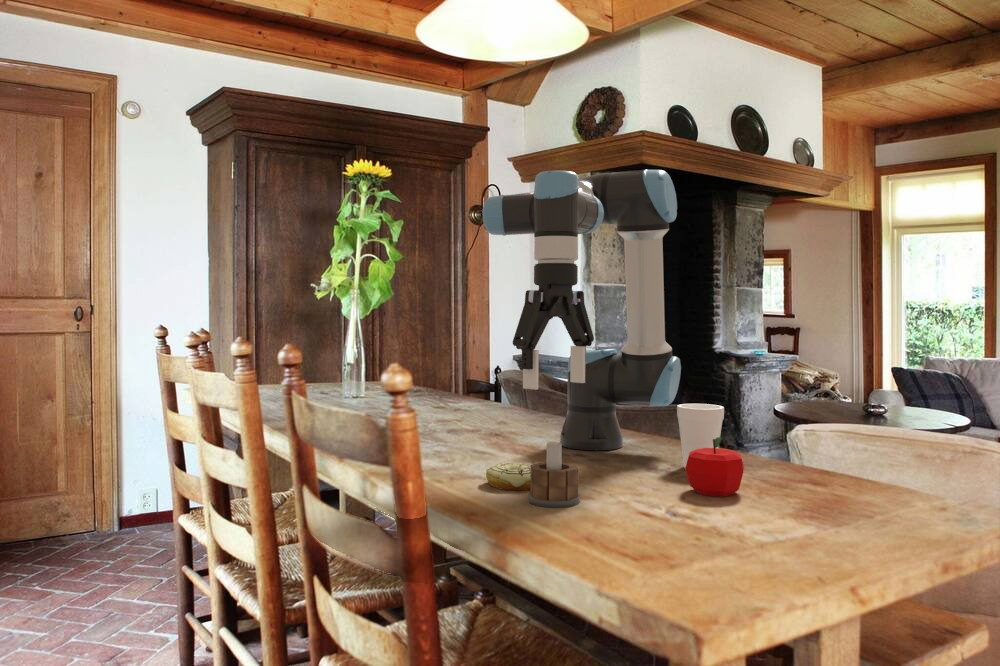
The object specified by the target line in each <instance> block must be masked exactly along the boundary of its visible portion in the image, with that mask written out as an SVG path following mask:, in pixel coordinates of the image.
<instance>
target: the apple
mask: <svg viewBox="0 0 1000 666" xmlns="http://www.w3.org/2000/svg"><path fill="white" fill-rule="evenodd" d="M722 440H723V437H720V438H719V437H717V438H716V439H713V448H702V449H696V450H694V451H691V452H689V456H688V460H687V464H686V467H685V468H684V470H685V471H684V472H685V473H686V476H687V479H688V482H689V485H690V487H691V488H692V489H693V490H694V491H695V492H696V493H697V494H700V495H703V496H706V497H728V496H729V497H730V496H733V495H735V493H736V492H738V490H739V489H740V487H741V483H742V479H743V475H744V472H745V465H744V460H743V457H742V455H741V454H740V453H739V452H737V451H736V450H731V449H726V448H719V447H718V446H720V442H721V441H722ZM717 447H718V448H717Z"/></svg>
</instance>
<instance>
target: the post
mask: <svg viewBox="0 0 1000 666" xmlns="http://www.w3.org/2000/svg"><path fill="white" fill-rule="evenodd" d="M562 447H563V446H562V444H561V443H560V442H547V443H546V462H547V465H546V469H548V470H561V466H562V460H563V459H562V458H563V457H562V455H563V454H562V453H563V452H562V449H563V448H562ZM580 499H581V497H580V494H579V493H578V497H577V498H575V499H571V500H565V501H549V500H547V501H545V500H540V499H535V498H533V497H532V496H531V494H530V492H528V493H527V502H528V503H529V504H530V505H532V506H537V507H544V508H552V509H553V508H557V509H558V508H569V507H574V506H577V505H579V503H580V502H581V501H580Z"/></svg>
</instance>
